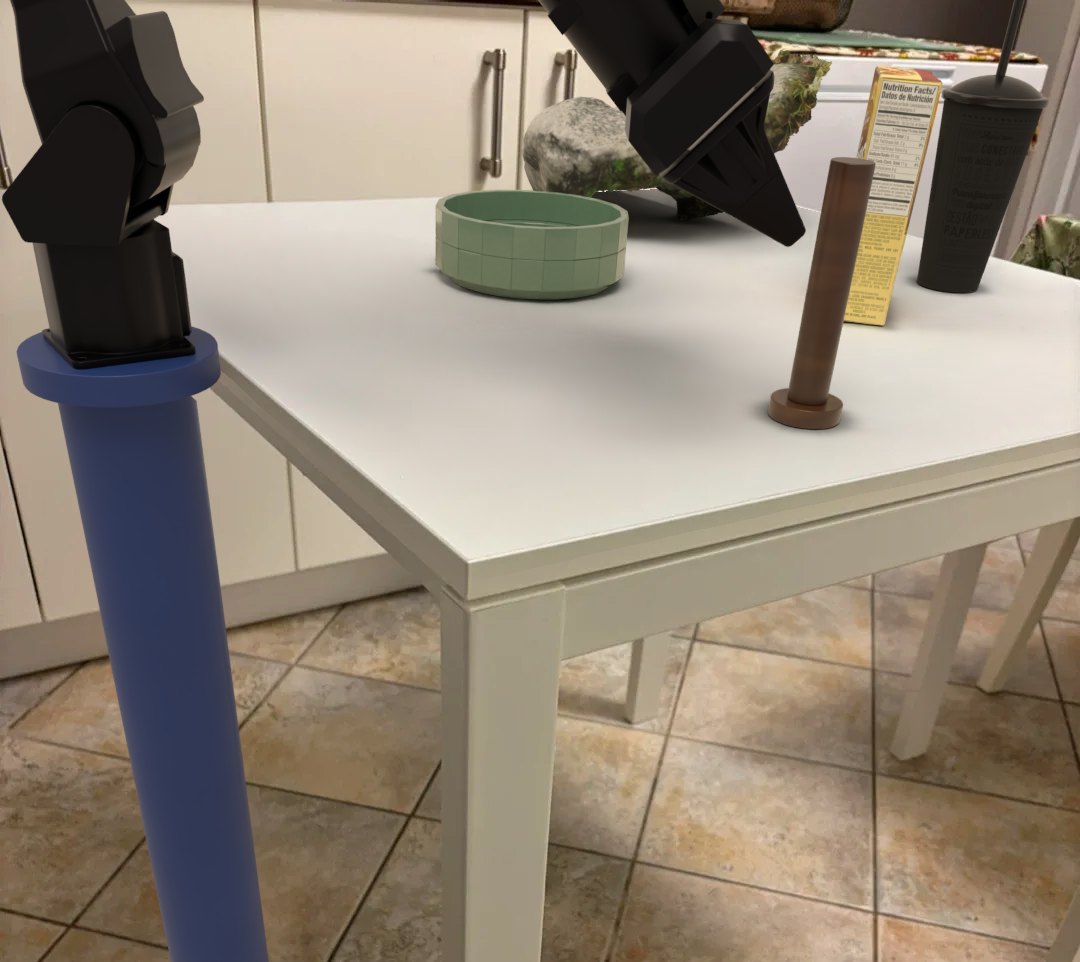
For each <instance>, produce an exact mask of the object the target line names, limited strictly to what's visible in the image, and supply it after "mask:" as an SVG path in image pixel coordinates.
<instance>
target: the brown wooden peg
mask: <svg viewBox="0 0 1080 962" xmlns="http://www.w3.org/2000/svg"><path fill="white" fill-rule="evenodd" d="M875 166H876V163H875V162H873V161H870V160H866V159H860V158H857V157H850V156H849V157H848V156H847V157H846V156H837V157H832V158H830V161H829V166H828V172H827V178H826V183H825V188H824V194H823V198H822V199H823V200H822V205H821V211H820V215H819V220H818V221H819V222H818V227H817V232H816V238H815V243H814V249H813V255H812V260H811V265H810V270H809V276H808V281H807V287H806V292H805V297H804V303H803V308H802V313H801V319H800V325H799V330H798V335H797V341H796V348H795V351H794V357H793V362H792V367H791V368H792V369H791V372H790V373H791V374H790V379H789V385H788V387H785V388H780V389H777V390H775V391H773V392H772V393H771V394H770V398H769V404H768V410H767V414H768V416H769V417H770V418H771V419H772V420H774V421H775V422H778V423H780V424H783V425H786V426H789V427H794V428H799V429H804V430H805V429H806V430H824V429H830V428H833V427H836V426H837V425H838V424H839V423H840V422H841V418H842V412H843V407H844V403H843V401H842V399H841V398H839V397H838V396H835V395H834V394H832V393H830V388H831V384H832V379H833V374H834V371H835V370H834V369H835V365H836V359H837V355H838V350H839V345H840V340H841V335H842V331H843V326H844V316H845V312H846V307H847V302H848V297H849V292H850V287H851V282H852V277H853V273H854V268H855V263H856V258H857V253H858V248H859V243H860V239H861V234H862V229H863V224H864V219H865V214H866V209H867V204H868V200H869V195H870V190H871V185H872V180H873V175H874V170H875Z"/></svg>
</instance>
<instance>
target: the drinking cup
mask: <svg viewBox="0 0 1080 962" xmlns="http://www.w3.org/2000/svg"><path fill="white" fill-rule="evenodd" d="M1024 3H1025V0H1013V3H1012V8H1011V13H1010V15H1009V19H1008V24H1007V28H1006V32H1005V36H1004V40H1003V44H1002V48H1001V52H1000V56H999V59H998V64H997V67H996V72H995V74H986V75H985V74H984V75H979V76H975V77H971V78H968V79H965V80H962V81H960V82H958V83H956V84H955V85H953V86H952V87H947V88H944V89H942V90H941V94H940V98H941V99H942V100H943V104H942V105H943V106H942V111H941V118H940V125H939V130H938V131H939V132H938V139H937V145H936V152H935V159H934V163H933V173H932V179H931V184H930V191H929V198H928V204H927V211H926V218H925V224H924V225H925V226H924V231H923V236H922V237H923V238H922V244H921V251H920V257H919V264H918V271H917V277H916V283H917V284H918V285H919V286H921V287H923V288H927V289H930V290H934V291H940V292H946V293H957V294H958V293H959V294H967V293H973V292H976V291H978V289H979V287H980V283H981V281H982V279H983V276H984V273H985V270H986V267H987V265H988V262H989V259H990V256H991V253H992V251H993V248H994V245H995V242H996V240H997V237H998V235H999V232H1000V229H1001V227H1002V223H1003V221H1004V218H1005V216H1006V213H1007V210H1008V207H1009V205H1010V201H1011V198H1012V196H1013V193H1014V190H1015V187H1016V185H1017V182H1018V180H1019V177H1020V173H1021V171H1022V168H1023V165H1024V163H1025V160H1026V157H1027V154H1028V152H1029V149H1030V146H1031V144H1032V140H1033V137H1034V135H1035V132H1036V130H1037V126H1038V123H1039V121H1040V118H1041V116H1042V114H1043V113H1042V112H1043V110H1044V109H1046V108H1048V107H1049V104H1050V98H1048V97H1047V96H1045V95H1042V93H1041V92H1040V91H1039V90H1038V89H1036V87H1034V86H1033V85H1032V84H1029V82H1026V81H1024V80H1022V79H1019V78H1016V77H1013V76H1010V75H1006V74H1007V71H1008V66H1009V62H1010V59H1011V54H1012V50H1013V47H1014V42H1015V39H1016V35H1017V31H1018V27H1019V23H1020V20H1021V15H1022V12H1023V9H1024Z"/></svg>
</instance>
